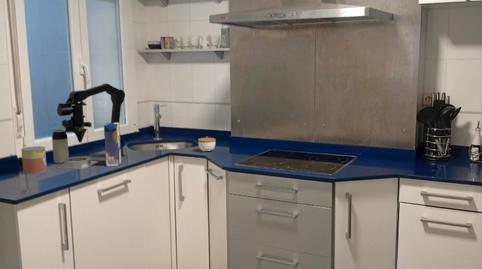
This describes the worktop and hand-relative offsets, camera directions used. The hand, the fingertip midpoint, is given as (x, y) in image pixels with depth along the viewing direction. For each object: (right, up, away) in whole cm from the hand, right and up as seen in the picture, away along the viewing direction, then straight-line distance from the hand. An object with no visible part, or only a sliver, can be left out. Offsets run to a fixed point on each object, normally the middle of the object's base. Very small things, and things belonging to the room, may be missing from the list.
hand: (80, 142), depth 255 cm
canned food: (-17, -15, -17) cm, 28 cm away
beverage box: (+19, -12, -1) cm, 22 cm away
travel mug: (-12, -11, +5) cm, 17 cm away
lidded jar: (+68, -6, +31) cm, 75 cm away
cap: (0, -12, -4) cm, 12 cm away
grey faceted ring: (0, -12, -4) cm, 13 cm away
